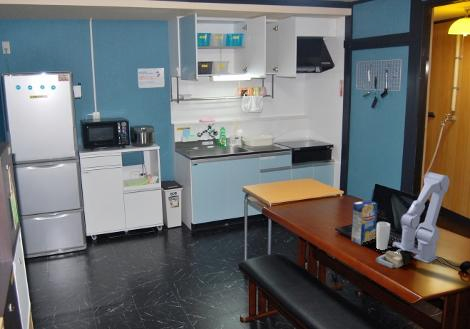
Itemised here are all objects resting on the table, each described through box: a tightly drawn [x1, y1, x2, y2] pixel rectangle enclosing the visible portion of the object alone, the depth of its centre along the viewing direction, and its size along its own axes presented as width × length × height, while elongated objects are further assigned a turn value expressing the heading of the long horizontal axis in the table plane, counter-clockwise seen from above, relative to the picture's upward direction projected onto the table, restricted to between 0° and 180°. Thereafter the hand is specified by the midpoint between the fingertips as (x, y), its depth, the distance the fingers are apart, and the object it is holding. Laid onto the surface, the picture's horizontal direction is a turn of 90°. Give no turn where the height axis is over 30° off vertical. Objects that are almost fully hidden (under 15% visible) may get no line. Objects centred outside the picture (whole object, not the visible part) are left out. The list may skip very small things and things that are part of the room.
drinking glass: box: [375, 221, 391, 250], centre depth 234 cm, size 7×7×15 cm
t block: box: [384, 250, 405, 269], centre depth 222 cm, size 10×9×4 cm
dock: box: [375, 250, 396, 269], centre depth 224 cm, size 14×9×2 cm, turn 127°
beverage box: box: [351, 199, 378, 246], centre depth 246 cm, size 7×11×22 cm, turn 120°
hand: (405, 264), depth 218 cm, fingers closed
